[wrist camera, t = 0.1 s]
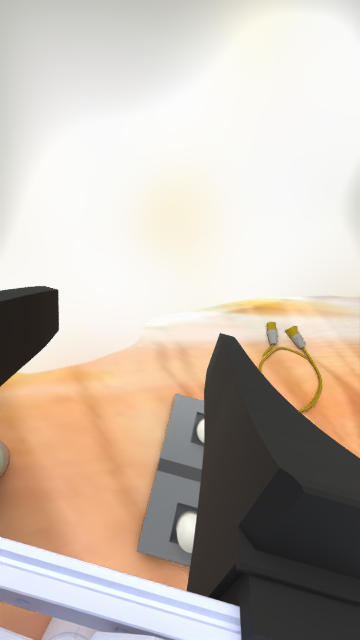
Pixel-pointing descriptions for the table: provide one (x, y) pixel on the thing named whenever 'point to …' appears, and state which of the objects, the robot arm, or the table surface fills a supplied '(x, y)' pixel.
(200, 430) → the button
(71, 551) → the table surface
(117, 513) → the table surface
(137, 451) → the table surface
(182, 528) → the button
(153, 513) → the switch panel
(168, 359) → the table surface
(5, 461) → the coffee cup
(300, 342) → the extension cord
